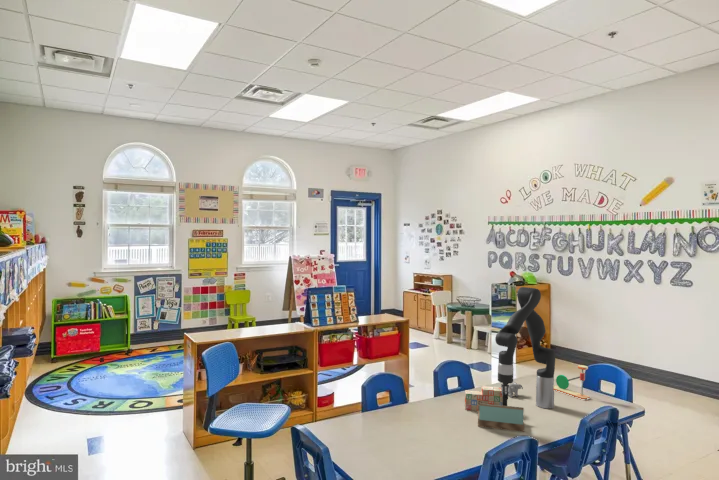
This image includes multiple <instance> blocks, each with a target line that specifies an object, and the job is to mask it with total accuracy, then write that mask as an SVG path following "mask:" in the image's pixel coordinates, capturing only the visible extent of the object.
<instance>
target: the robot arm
mask: <svg viewBox="0 0 719 480" xmlns="http://www.w3.org/2000/svg"><path fill="white" fill-rule="evenodd" d="M516 294H517V295H516V296H517V297H516V298H517V301H518V304H519V306H520V309H518V310H516V311H515V312H514V313H512V315H511V316H510V317H509V318H508V321H507V323H506V324H505V325H504V326H503V327H502V328H500V330H499V331H498V332H497V333H496V335H495V339H494V340H495V343H496V344H497V345H498V346H499V347H504V348H507V349H506V350H501V351H499V353H498V365H497V382H499V383H501V384H500V388H501V393H502V399H503V403H502V405H503V406H508V400H509V397H510V395H509V389H510V387H509V384H512V383H513V382H514V355H515V350H516V348H517V345H518V337H517V335H518V334H519V332H520V331H521V328H522V327H523V325H524V323H525V324H526V328H527V332H528V335H529V339H530V342H531V346H532V347H531V348H532V353H533V354H532V355H533V358H534V360H535V362H537V363H539V364H541V365H542V364H543V365H546V366H545V367H544V368H539V369H537V370H536V381H535V382H536V384H535V385H536V386H535V387H536V388H535V393H536V394H535V406H537V407H539V408H543V409H554V408H555V391H554V385H555V384H554V381H555V380H554V379H555V369H556V368H555V367H556V366H555V365H556V351H555V349H554V348H550V347H544V346H542V345H541V341H542V339H543V338H544V336H545V334H546V326H545V323H544V320H543V318H542V317H541V316H540V315H539V313H538V312H537V311H536V310H535V309H536V307H537V306H538V305H539V304H540V301H541V298H542V293H541V290H540V289H539V288H536V287H525V286H523V287H522V286H521V287H519V288H518V289H517V293H516Z"/></svg>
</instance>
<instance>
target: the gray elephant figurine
mask: <svg viewBox="0 0 719 480" xmlns="http://www.w3.org/2000/svg"><path fill="white" fill-rule="evenodd" d="M508 385H509V387H510V389H509V398H513V394H514V396H515V397H516V398H517V397H519V395H518V392H519V390H520V389H521V390H524V387H523V386H522V384H519V383H517V382H515V381H513V383H509V384H508Z"/></svg>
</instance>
